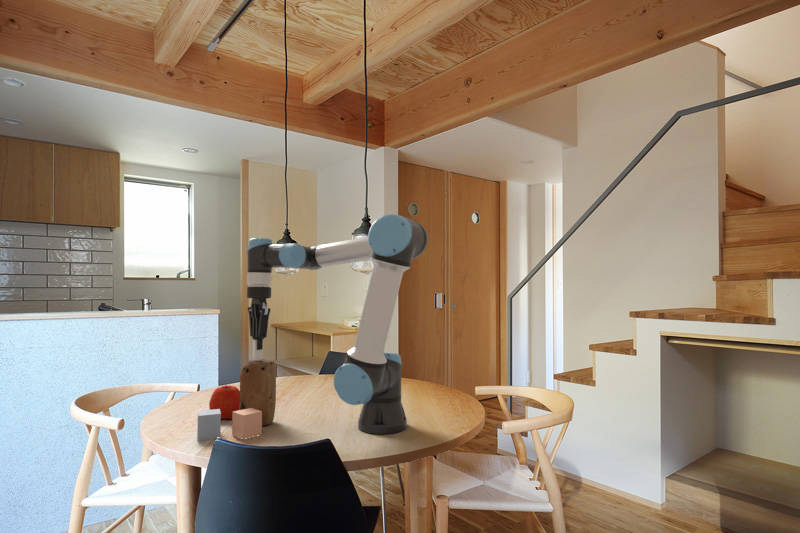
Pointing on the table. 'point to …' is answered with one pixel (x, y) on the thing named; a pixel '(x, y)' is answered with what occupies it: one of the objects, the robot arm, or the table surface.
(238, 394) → the apple
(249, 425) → the terracotta block
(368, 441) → the table surface
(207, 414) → the slate block
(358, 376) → the robot arm
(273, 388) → the brown long irregular lump
